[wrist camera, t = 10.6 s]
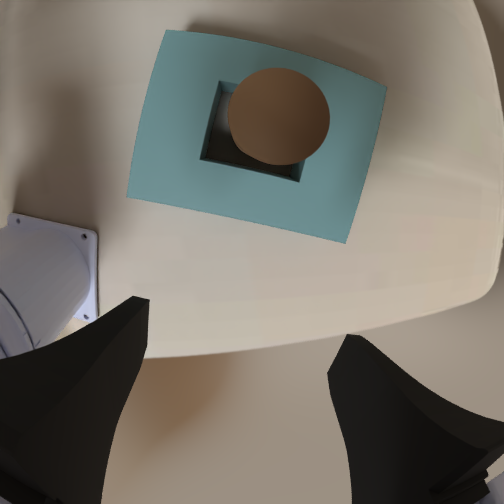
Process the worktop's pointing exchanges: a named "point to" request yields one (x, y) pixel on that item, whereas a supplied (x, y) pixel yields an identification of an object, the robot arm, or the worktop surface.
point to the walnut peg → (278, 116)
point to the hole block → (241, 177)
